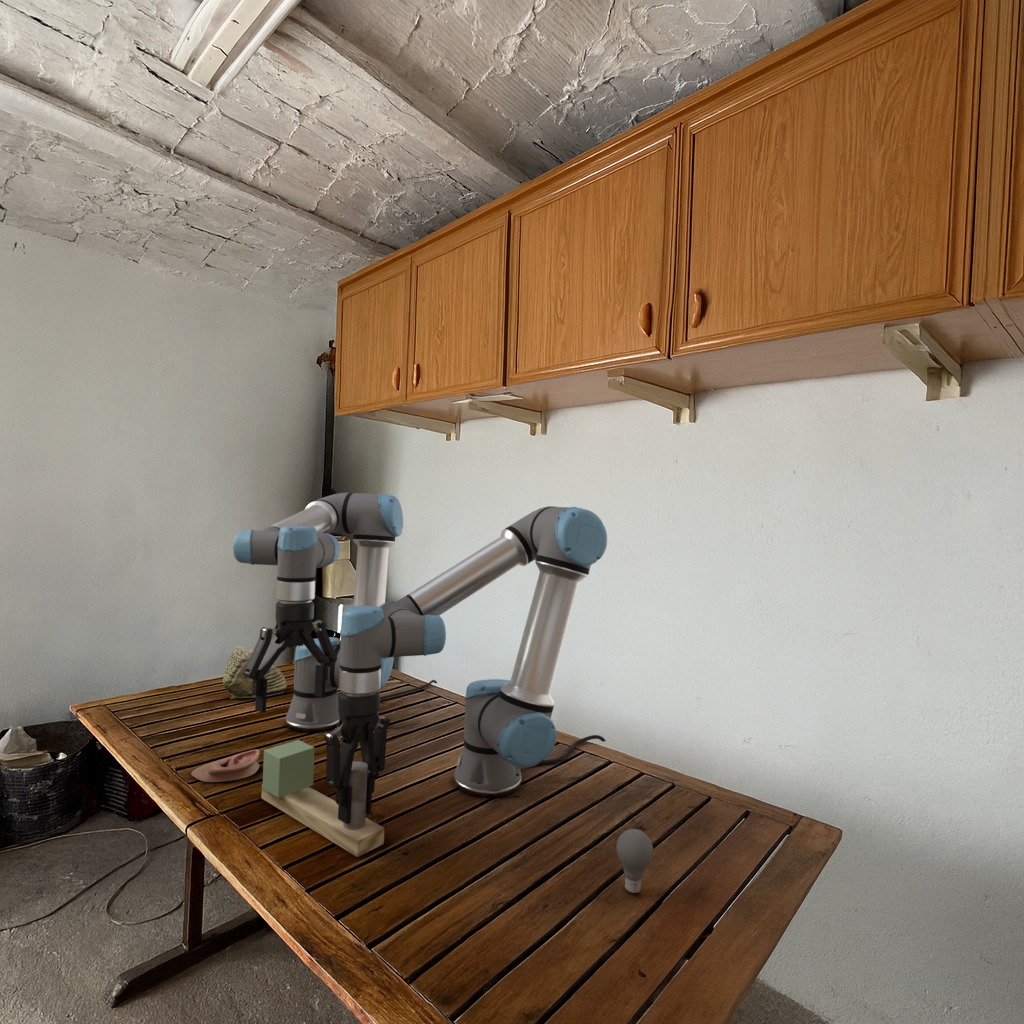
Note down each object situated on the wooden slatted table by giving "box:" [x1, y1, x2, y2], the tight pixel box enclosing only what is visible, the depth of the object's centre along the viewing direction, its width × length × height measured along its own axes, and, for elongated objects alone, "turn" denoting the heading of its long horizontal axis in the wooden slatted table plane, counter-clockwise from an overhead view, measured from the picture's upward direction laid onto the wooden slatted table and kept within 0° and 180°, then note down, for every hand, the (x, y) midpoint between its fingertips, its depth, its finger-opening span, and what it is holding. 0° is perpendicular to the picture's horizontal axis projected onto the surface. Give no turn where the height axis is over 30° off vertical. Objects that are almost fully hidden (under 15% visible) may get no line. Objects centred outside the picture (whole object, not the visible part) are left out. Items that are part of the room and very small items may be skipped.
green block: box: [262, 739, 315, 798], centre depth 131 cm, size 8×6×8 cm
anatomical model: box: [190, 748, 261, 783], centre depth 143 cm, size 13×4×12 cm
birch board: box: [261, 760, 385, 858], centre depth 124 cm, size 6×32×14 cm, turn 51°
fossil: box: [222, 646, 288, 699], centre depth 198 cm, size 9×18×15 cm, turn 132°
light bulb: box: [615, 828, 654, 894], centre depth 106 cm, size 6×6×10 cm
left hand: (291, 703), depth 131 cm, fingers open, 13 cm apart
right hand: (354, 815), depth 117 cm, fingers closed on birch board, 4 cm apart
